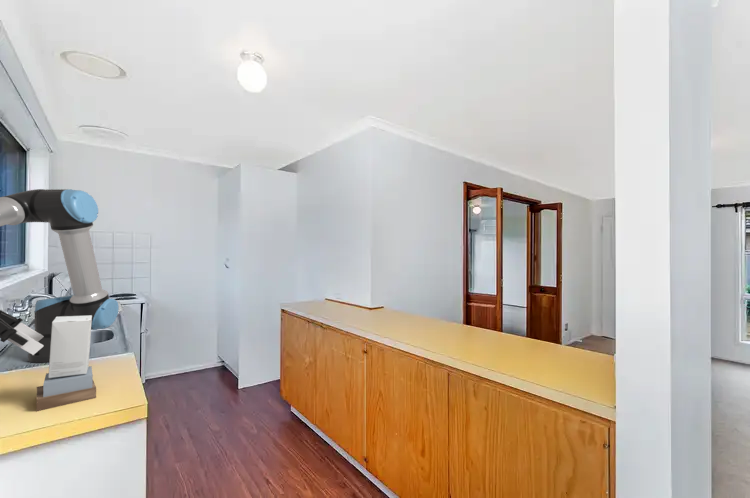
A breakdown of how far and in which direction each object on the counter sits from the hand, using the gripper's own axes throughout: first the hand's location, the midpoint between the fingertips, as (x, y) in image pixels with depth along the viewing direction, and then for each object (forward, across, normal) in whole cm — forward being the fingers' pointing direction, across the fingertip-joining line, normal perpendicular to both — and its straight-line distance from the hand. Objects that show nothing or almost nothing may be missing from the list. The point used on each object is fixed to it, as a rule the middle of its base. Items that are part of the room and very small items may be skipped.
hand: (39, 345), depth 94 cm
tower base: (+16, -1, -8) cm, 17 cm away
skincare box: (+11, 0, -2) cm, 11 cm away
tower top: (+14, 0, -5) cm, 14 cm away
